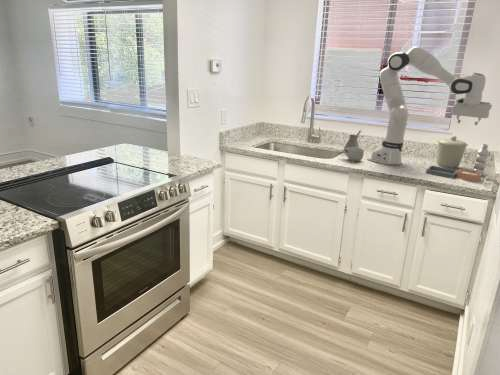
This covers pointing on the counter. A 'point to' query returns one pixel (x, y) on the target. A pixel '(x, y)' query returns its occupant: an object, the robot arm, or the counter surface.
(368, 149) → the counter surface
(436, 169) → the slate tray
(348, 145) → the coffee pot
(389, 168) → the counter surface
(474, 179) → the terracotta bowl
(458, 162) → the canister
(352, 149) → the teacup
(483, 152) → the silver metal bottle
